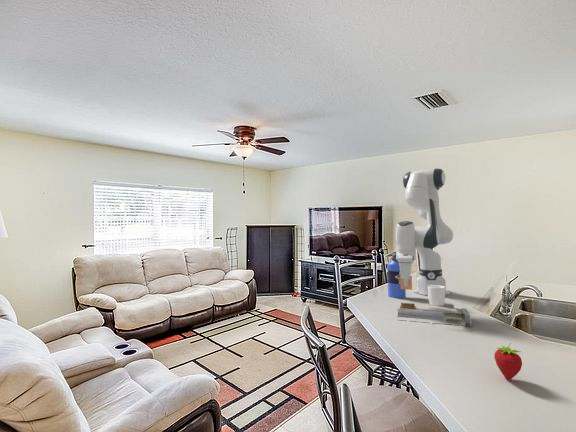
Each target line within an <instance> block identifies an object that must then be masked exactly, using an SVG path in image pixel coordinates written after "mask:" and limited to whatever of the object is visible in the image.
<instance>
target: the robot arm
mask: <svg viewBox="0 0 576 432" xmlns="http://www.w3.org/2000/svg"><path fill="white" fill-rule="evenodd" d="M446 178H447V177H446V174H445V172H444V170H443V169H442V168H431V169H430V168H427V169H426V168H425V169H420V170H415V171H408V172H406V173H405V174H404V175H403V177H402V184H403V187H404V188H405V193H404V195H405V196H404V200H405V202H406V203H407V204H408V206H410V207H411V208H414V209H416V210H418V213H417V214H418V216H419V218H421V219H422V220H424V221H426V222H427V225H420V226H419V225H417V226H415V223H414V222H413V221H411V220H410V221H407V220H405V221H398V222H397V223H396V227H395V242H396V248H395V253H396V259H397V260H398V262H399V266H400V273H401V278H402V279H404V286H405V287H408V279H410V276H411V272H412V266H413V265H412V264H414V261H415V260H417V253H418V256H419V270H418V271H419V276H418V277H417V279H416V288H415V289H414V290H413V293H416V294H420V295H422V296H423V295H424V296H428V288H427V286H428V285H441V286H445V296H447V295H450V294H451V293H450V291H448V290H447V284H446V282H447V281H446V278H444V277H443V269H442V260H441V259H442V257H441V254H439V253H438V252H436V251H434V250H433V249H434V248H436V247H437V246H439V245H445V244H449V243H451V242H452V241H453V238H454V233H453V229H451V228H450V227H449V226H448V225H447V224H446V223H445V222H444V221H443V219H442V216H441V213H440V212H441V211H440V198H439V190H440V189H441V188H442V187H443V186H444V185H445V183H446ZM416 251H417V252H416Z"/></svg>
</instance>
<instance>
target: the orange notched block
mask: <svg viewBox="0 0 576 432" xmlns="http://www.w3.org/2000/svg"><path fill="white" fill-rule="evenodd" d="M400 282H401V289H405V290H411V291H412V290H413V279H412V275H410V279H408V287H405V286H404V279H402V278H401V277H400Z"/></svg>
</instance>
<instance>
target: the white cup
mask: <svg viewBox="0 0 576 432" xmlns="http://www.w3.org/2000/svg"><path fill="white" fill-rule="evenodd" d="M427 288H428V295H427V297H428V298H427V299H428V304H429V305H431V306H437V307H439V306H440V307H442V306H445V302H446V295H445V286H441V285H428V286H427Z"/></svg>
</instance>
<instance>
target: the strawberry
mask: <svg viewBox="0 0 576 432" xmlns="http://www.w3.org/2000/svg"><path fill="white" fill-rule="evenodd" d="M511 344H512V342H510V343H509V344H508V346H504V345H501V347H498V348H497V349H496V351H494V357H493V358H494V360H495V363H496V364H495V365H496V366H497V368H498V369H499V371H500V373H501V374H502V375H503V377H504V379H506V380H507V381H511V380H512V379H513V378H515V377H516V376H517V375H518V374H519V373H520V372H521V370H522V366H523V361H522V358H521V356H520V354H518V353H521V351H520V350H517V349H512V348H511V347H509V346H510V345H511Z"/></svg>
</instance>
